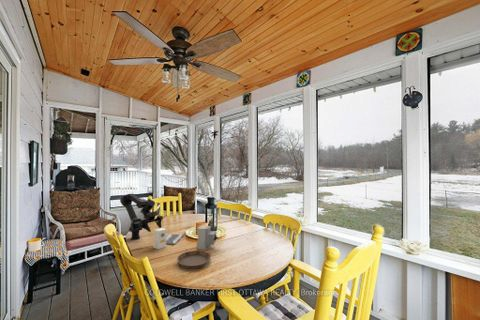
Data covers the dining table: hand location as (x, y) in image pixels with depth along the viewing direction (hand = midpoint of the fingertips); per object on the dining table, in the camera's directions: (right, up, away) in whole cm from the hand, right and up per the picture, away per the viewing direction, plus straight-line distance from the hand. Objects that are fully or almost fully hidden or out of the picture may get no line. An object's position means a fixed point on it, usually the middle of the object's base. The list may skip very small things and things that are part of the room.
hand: (155, 230), depth 163 cm
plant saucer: (+35, -12, -27) cm, 45 cm away
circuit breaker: (+40, -12, -3) cm, 42 cm away
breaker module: (+4, -11, -3) cm, 13 cm away
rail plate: (+9, -12, +12) cm, 19 cm away
